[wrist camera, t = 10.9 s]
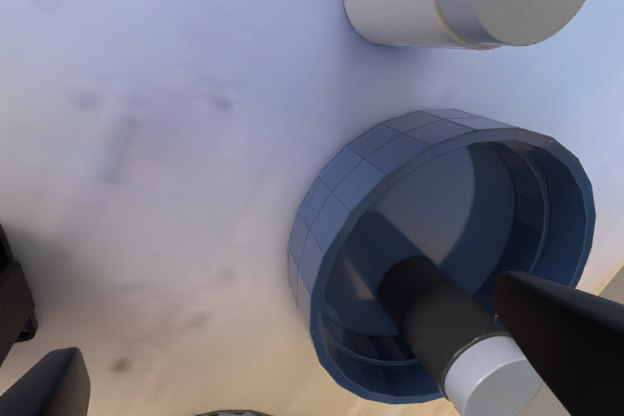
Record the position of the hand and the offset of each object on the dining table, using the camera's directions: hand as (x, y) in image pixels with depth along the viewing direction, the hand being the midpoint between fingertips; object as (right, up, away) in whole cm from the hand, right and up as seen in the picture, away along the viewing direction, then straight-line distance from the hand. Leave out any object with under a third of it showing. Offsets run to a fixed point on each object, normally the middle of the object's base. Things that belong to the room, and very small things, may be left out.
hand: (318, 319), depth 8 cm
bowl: (+6, 0, +16) cm, 17 cm away
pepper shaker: (+6, -3, +17) cm, 18 cm away
